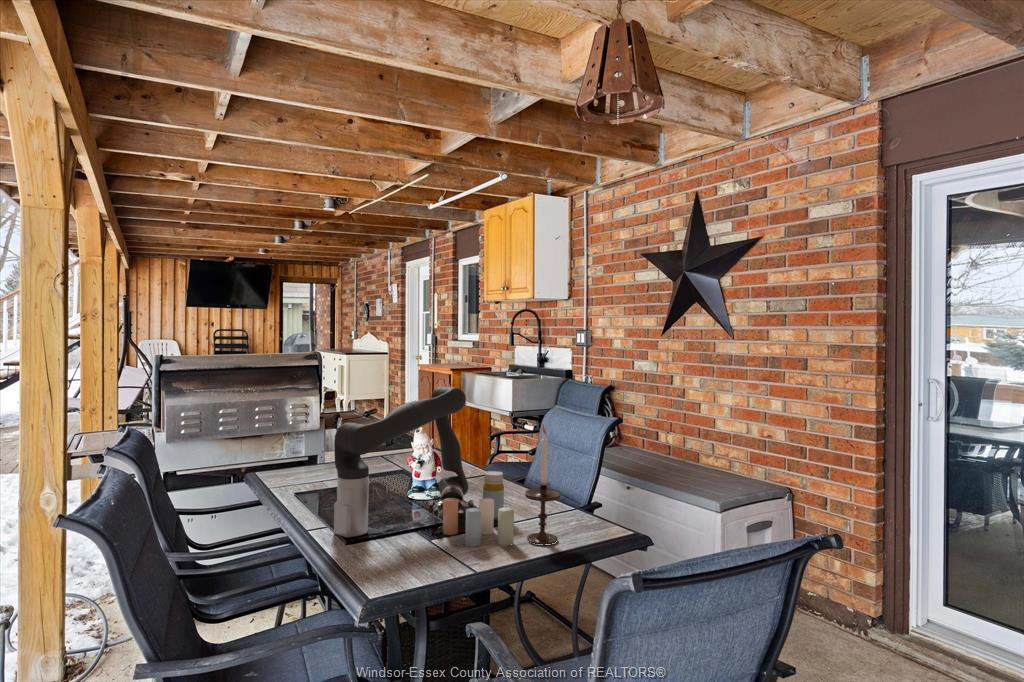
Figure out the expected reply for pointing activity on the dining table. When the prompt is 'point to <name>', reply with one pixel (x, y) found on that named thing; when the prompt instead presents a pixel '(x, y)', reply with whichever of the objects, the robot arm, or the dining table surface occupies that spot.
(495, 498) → the bottle
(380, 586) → the dining table surface
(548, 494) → the candlestick
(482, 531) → the cream canister
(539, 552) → the dining table surface
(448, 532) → the terracotta canister
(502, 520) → the sage canister
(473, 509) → the dusty blue canister
